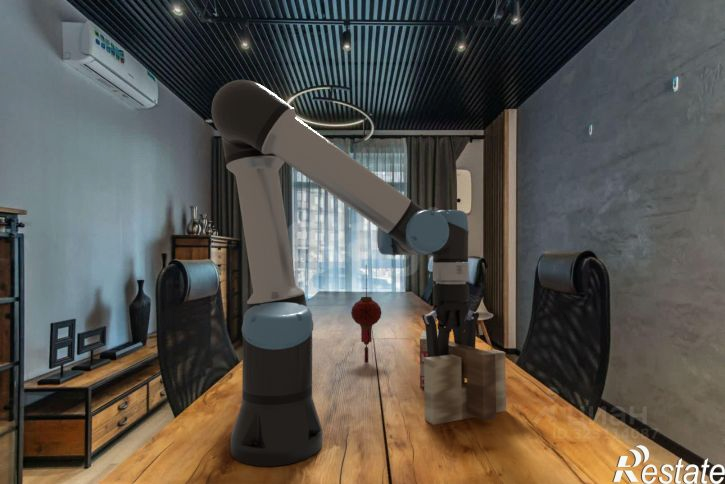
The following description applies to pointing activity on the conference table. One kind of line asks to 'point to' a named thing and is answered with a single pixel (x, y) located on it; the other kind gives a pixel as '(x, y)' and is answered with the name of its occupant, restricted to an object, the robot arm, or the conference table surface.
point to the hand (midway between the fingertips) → (452, 393)
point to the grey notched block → (455, 388)
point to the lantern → (366, 317)
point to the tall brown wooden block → (477, 379)
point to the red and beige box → (423, 356)
